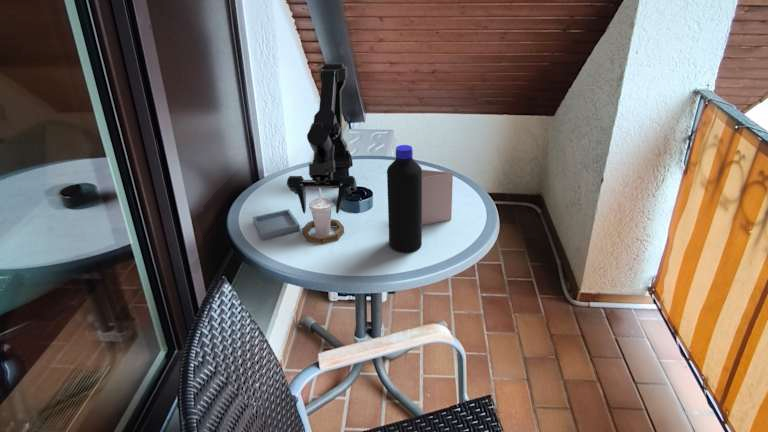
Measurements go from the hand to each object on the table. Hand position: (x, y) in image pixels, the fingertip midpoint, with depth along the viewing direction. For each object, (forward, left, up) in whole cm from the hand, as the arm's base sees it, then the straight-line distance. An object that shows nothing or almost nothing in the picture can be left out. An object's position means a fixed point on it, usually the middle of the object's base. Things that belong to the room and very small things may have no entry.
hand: (320, 213), depth 149 cm
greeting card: (-31, +7, -7) cm, 32 cm away
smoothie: (-1, -1, -7) cm, 8 cm away
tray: (+10, -11, -7) cm, 17 cm away
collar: (-1, -1, -7) cm, 7 cm away
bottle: (-19, +15, -7) cm, 25 cm away
